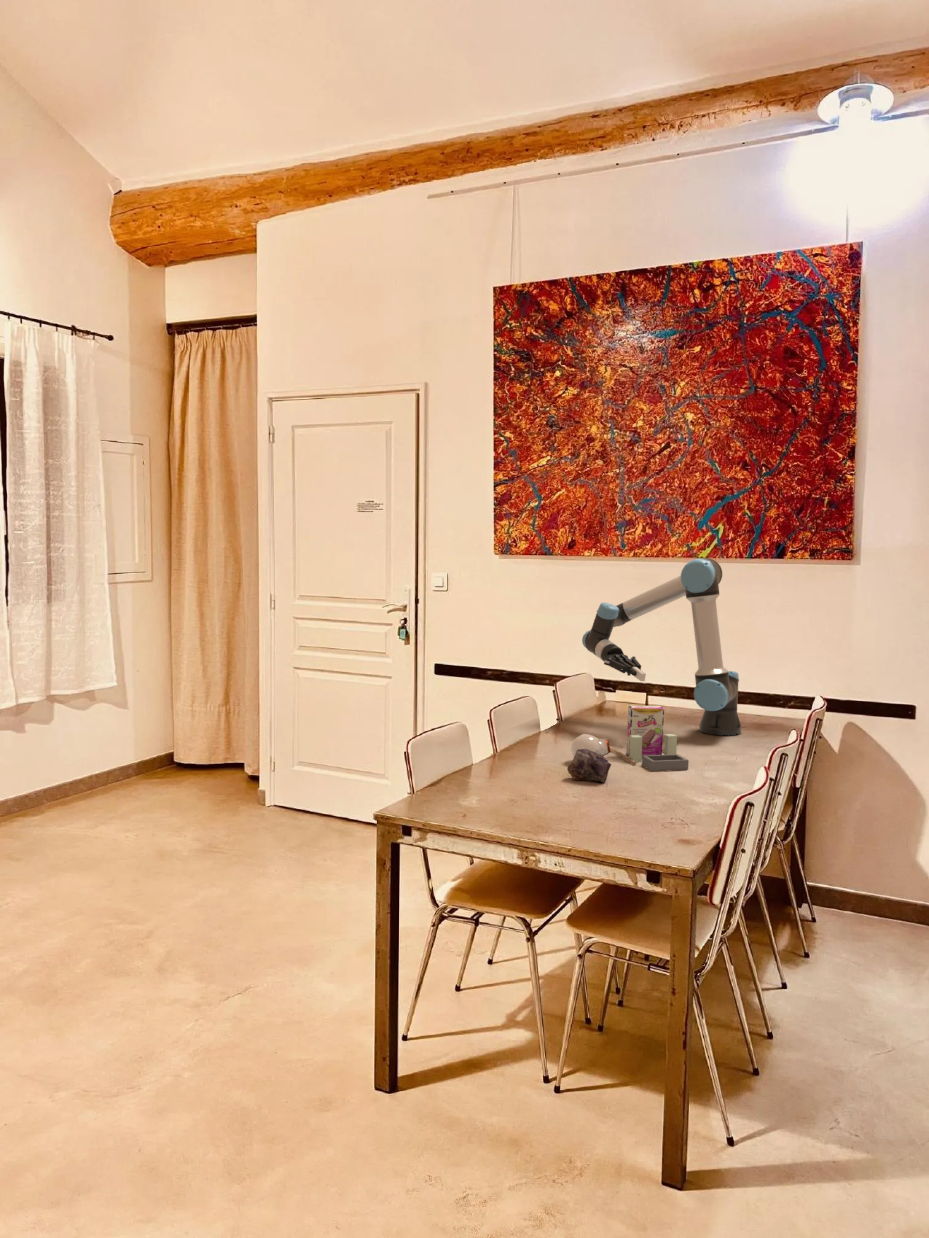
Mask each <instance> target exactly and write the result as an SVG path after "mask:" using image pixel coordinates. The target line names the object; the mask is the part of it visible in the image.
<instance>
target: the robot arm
mask: <svg viewBox="0 0 929 1238" xmlns="http://www.w3.org/2000/svg"><path fill="white" fill-rule="evenodd" d="M722 579H723V568H722V567H721V565H720V563H719V562H717V561H716V560H714V559H712V558H708V557H705V558H696V559H691V560H690V561H688V562H687V563H686V564H685V565H684V566H683V568H682V570H681V573H680V575H679V576H677V577H675V578H672V579H670V580H668V581H666V582H664V583H661V584H659V585H657V586H656V587H653V588H651V589H649V590H647V591H645V592H643V593H640V594H638V595H635V596H634V597H632V598H630V599H628V600H626V601H624V602H620V604H617V605H614V604H612V603H608V602H601V603H600V604H599V606H598V608H597V610H596V614H595V617H594V620H593V624H592V626H591V629H590V630H587V631H586V632H585V633H584V634H583V635H582V638H581V642H582V645H583V646H584V648H586V650H587V651H588V652H590V653H592V654H593V655H594V656H596V657H597V658H598V659H600V660H601V661H602V662H603V664H604V665H605V666H608V667H610V668H612V669H614V670H616V671H618V672H620V673H622V674H627V676H633V677H634V678H636V679H637V680H639V681H640V682H645V680H646V675H647V674H646V673H645V672H644V671H643V670H642V665H641V664H640V662H639V661H638V660H637V658H636V656H633V655H632V656H631V657H629V656H628V655H627V654H625V653H624V651H623V650H622V648H621V647H619V646H618V645H616V644H615V643H614V642H613V641H611V640H610V637H611V635H612V633H613V629H614V628H615V627H621V626H623V625H625V624H626V623H629V622H631V621H634V620H635V619H637V618H639V617H642V616H645V615H646V614H648V613H650V612H653V611H655V610H657V609H659V608H662V607H663V606H665V605H668V604H670V603H672V602H675V601H677V600H678V599H681V598H683V597H685V598H686V600H688V601H689V602H690V603H691V613H692V614H691V615H692V623H693V631H694V632H693V633H694V641H695V649H696V656H697V659H696V660H697V670H696V672H695V673H694V679H695V680H694V681H695V687H694V690H693V699H694V700H695V702H696V704H697V706H699V707H700V709H702V710H704V711H703V714H702V716H701V719H700V721H699V724H698V725H699V726H698V730H699V731H700V732H701V733H703V732H704V733H703V734H708V735H712V734H716V735H715V736H723V735H726V736H727V735H728V737H729V736H730V735H731V736H737V735H736V734H738V735H741V734H742V725H741V721H740V718H739V714H738V702H739V701H738V698H739V682H740V679H739V677H740V676H739V673H738V672H737V671H732V670H728V669H727V668H725V667H724V662H723V654H722V646H721V645H722V644H721V637H720V629H719V628H720V627H719V626H720V625H719V618H718V608H717V599H718V597H719V596H720V589H719V588H720V586H719V585H720V583H721V581H722ZM740 733H741V734H740Z"/></svg>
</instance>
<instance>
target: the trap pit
mask: <svg viewBox="0 0 929 1238" xmlns="http://www.w3.org/2000/svg"><path fill="white" fill-rule="evenodd" d="M689 761H690V760H689V759H687V758H685V757H684V756H682V755H680V754H677V753H676V754H669V755H664V754H662V755H643V756H642V762H641V765H642V766H643V767H645V768H646V769H648V770H650V771H651V772H661V771H662V772H663V771H664V772H665V771H685V770H687V771H688V770H689Z"/></svg>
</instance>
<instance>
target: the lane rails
mask: <svg viewBox="0 0 929 1238" xmlns="http://www.w3.org/2000/svg"><path fill="white" fill-rule="evenodd" d="M609 746H610V752H611V753H613V754H615V755H616V756H618V757H620V758H621V759H622V760H624V761H626V762H627V763H629V764H631V765H632V766H637V762H636V761H634V760H632V759H631V758H629V756H628V755H627V754H624V753H623V752H621V751H619V750H617V748H615V747H613V746H611V745H610V744H609ZM662 753H664V746H662Z"/></svg>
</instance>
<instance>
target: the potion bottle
mask: <svg viewBox="0 0 929 1238" xmlns="http://www.w3.org/2000/svg"><path fill="white" fill-rule="evenodd" d="M609 745H610V742H609V740H608V739H605V738H600V737H596V736H594V735H593V734H588V733H582V734H580V735H579V736H576V738H574V740H573V741H572V742H571V750H570V751H571V754H572V756H573V757H574V756H575V754H576V751H577V750H578V749H588V750H590V751H593V752H596V753H598V754H600V755H602V756H603V757H605V756H607V755H608V754H610V753H611V751H610V746H611V745H610V746H609Z"/></svg>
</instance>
